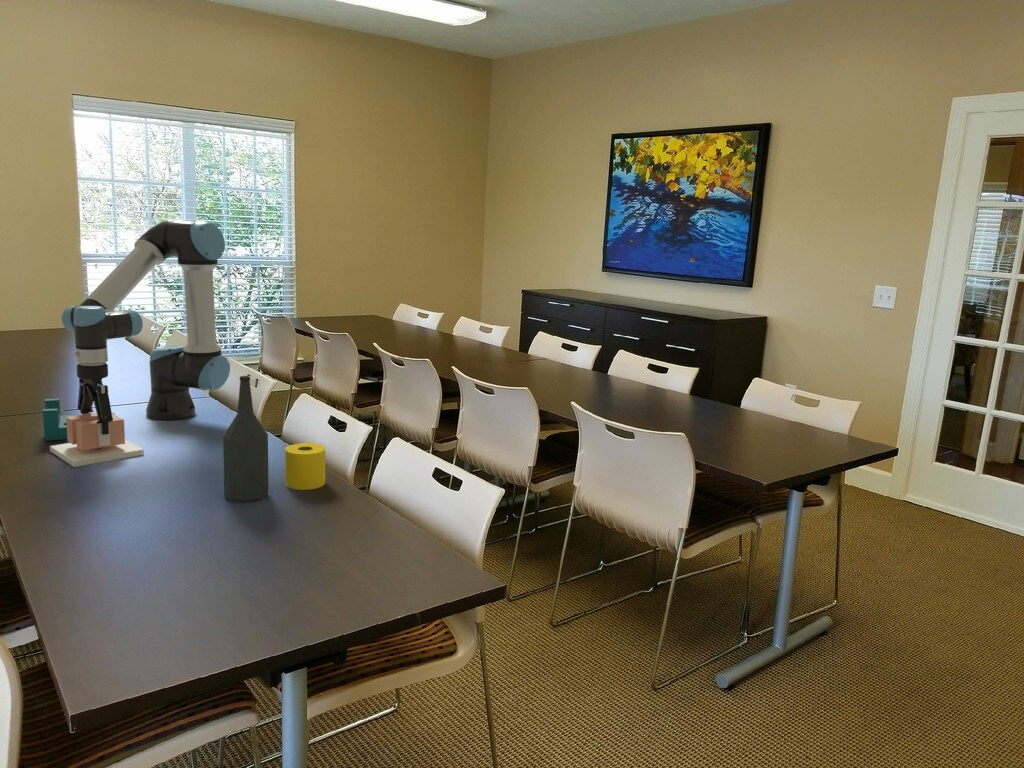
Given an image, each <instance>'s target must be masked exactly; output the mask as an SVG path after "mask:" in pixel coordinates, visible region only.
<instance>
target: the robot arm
mask: <svg viewBox="0 0 1024 768" xmlns="http://www.w3.org/2000/svg"><path fill="white" fill-rule="evenodd" d="M225 241H226V240H225V238H224V234H223V233H222V231H221V229H219V228H218V226H217V225H216V224H214V223H212V222H209V221H205V220H191V219H190V220H188V219H186V220H185V219H174V218H173V219H166V220H163V221H161V222H159V223H157V224H155V225H154V226H152V227H151V228H149V229H148V230H147V231H146V232H144V233H143V234H141V236H140V237H139V238H138V239H137V240H135V242H134V244H133V245H134V248H133V249H132V250H131V251H130V252H129V253H128V254H127V256H126V257H125V258H123V259H122V261H120V263H119V264H118V265H117V266H115V268H114V269H113V270H111V272H110V273H109V274H108V276H106V277H105V278H104V280H102V282H101V283H100V284H99V285H97V287H96V288H95V289H94V290H92V292H91V293H90V294H89V295H88V296H87V297H86V298H85V300H84V301H82V303H81V302H80V304H79V305H70V306H67V307H66V308H65V309H64V311H63V312H62V314H61V323H62V325H63V327H64V328H65V329H66V330H68V331H69V332H72V333H74V343H75V344H74V345H75V351H74V353H73V355H74V356H75V359H76V360H75V361H76V362H77V364H76V377H77V378H78V383H79V384H78V385H79V388H78V400H77V410H78V411H79V412H80V415H86V414H94V409H93V405H94V408H95V412H96V413H97V416H98V419H99V421H97V422H96V423H97V424H98V440H99V446H106V445H110V428H109V422H110V421H113V418H112V413H113V412H112V407H111V403H110V397H109V386H108V385H104V384H103V381H102V380H103V379H106V378H107V377H108V376H109V368H108V367H109V366H108V364H107V362H108V361H109V360H108V359H109V358H108V356H109V355H108V340H113V339H121V338H130V337H134V336H137V335H139V334H141V332H142V330H143V327H144V325H143V324H144V322H143V318H142V316H141V315H140V313H138V311H135V310H133V309H131V310H130V309H128V310H127V309H123V310H116V309H117V307H119V305H120V304H121V303H122V302H123V301H124V300H125V299H126V298H127V296H129V294H130V293H131V292H132V291H133V290H134V289H135V288H136V287H137V285H138V284H139V283H141V281H142V280H143V279H144V278H145V277H146V275H148V274H149V273H150V272H151V270H152V269H153V268H154V267H155V266H157V265H158V266H159V265H162V263H163V262H164V261H166V259H169V258H173V257H177V264H178V266H179V267H181V268H182V269H183V279H184V280H183V283H184V300H185V301H184V302H185V316H186V318H185V320H186V336H187V344H186V345H174V346H172V345H171V346H165V347H164V346H163V347H158V348H153V349H152V350H151V351H150V353H149V374H150V377H149V378H150V392H151V393H150V396H149V399H148V402H147V405H146V409H145V412H146V413H145V414H146V417H147V418H148V419H152V420H158V421H159V420H161V421H171V420H172V421H173V420H175V421H176V420H182V419H188V418H191V417H194V416H195V415H196V405H195V403H194V400H193V398H192V395H191V392H190V388H191V389H197V390H201V391H217V390H219V389H220V388H222V387H223V386H224V385H225V384H226V381H228V378H229V377H230V372H231V363H230V361H229V360H228V358H227V357H226V356H224V355H222V354H223V353H222V347H221V346H220V345H219V344H218V343H217V332H216V331H217V330H216V314H215V311H216V309H215V291H214V289H215V288H214V287H215V286H214V269H215V268H216V267H217V266H218V260H219V259H221V258H222V257H223V255H224V252H225V249H226V247H225V246H226V243H225ZM105 417H106V418H105Z"/></svg>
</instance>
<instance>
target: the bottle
mask: <svg viewBox="0 0 1024 768" xmlns="http://www.w3.org/2000/svg"><path fill="white" fill-rule="evenodd" d="M250 381H251V377H250V375H241V376H239V391H238V392H239V393H238V402H237V403H238V404H237V413H236V415H235V417H234V418H233V420H232V421H231V423H230V425H229V426H228V428H227V429H226V431H225V432H224V434H223V436H222V438H223V439H222V440H223V441H222V442H223V443H222V444H223V446H222V447H223V449H222V450H223V451H222V452H223V487H224V488H223V490H224V491H223V492H224V493H223V494H224V496H225V498H226V499H228V501H232V502H234V503H250V502H258V501H261V500H262V499H264V498H265V497H266V496H267V495H268V493H269V433H268V432H267V431H266V429H265V428H264V426H263V425H262V424H261V422H260V421H259V419H258V418H257V416H256V415H255V414H254V407H253V397H252V391H251V382H250Z"/></svg>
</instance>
